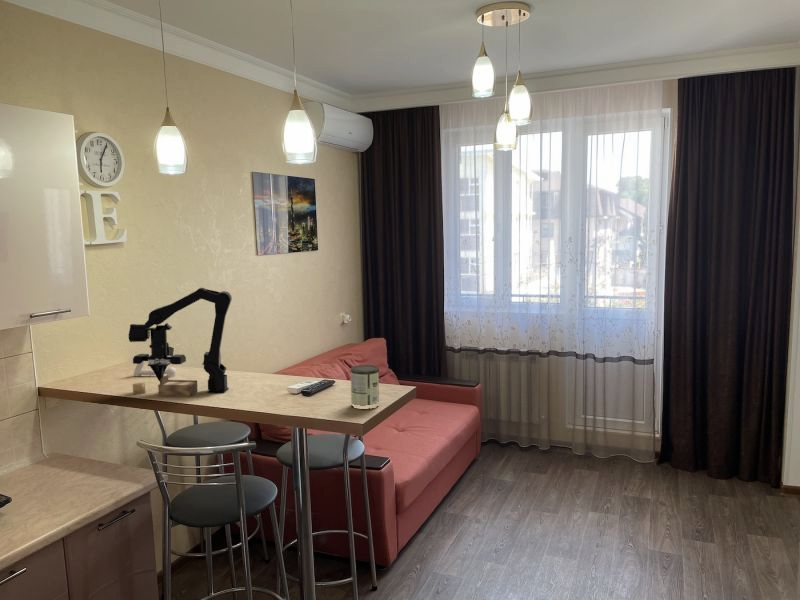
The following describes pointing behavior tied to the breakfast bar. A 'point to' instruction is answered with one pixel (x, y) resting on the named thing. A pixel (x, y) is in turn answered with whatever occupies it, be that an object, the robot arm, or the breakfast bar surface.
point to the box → (178, 389)
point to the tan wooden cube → (139, 388)
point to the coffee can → (364, 385)
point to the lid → (165, 382)
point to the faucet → (140, 371)
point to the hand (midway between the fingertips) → (160, 380)
